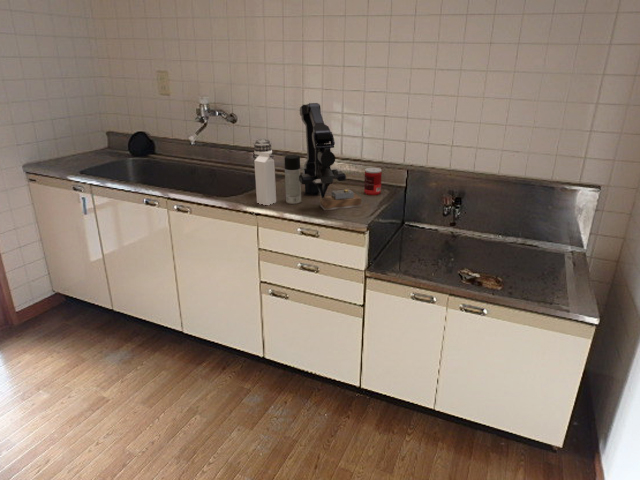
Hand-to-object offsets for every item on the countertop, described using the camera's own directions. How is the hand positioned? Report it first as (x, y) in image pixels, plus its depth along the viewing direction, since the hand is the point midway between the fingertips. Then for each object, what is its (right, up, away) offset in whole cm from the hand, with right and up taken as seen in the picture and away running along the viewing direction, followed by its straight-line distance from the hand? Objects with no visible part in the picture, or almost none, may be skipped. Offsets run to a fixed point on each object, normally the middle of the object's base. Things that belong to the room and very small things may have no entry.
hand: (322, 197), depth 193 cm
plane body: (+8, -3, +4) cm, 9 cm away
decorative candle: (-26, +3, +19) cm, 33 cm away
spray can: (-13, -1, +9) cm, 16 cm away
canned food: (+23, +4, +20) cm, 31 cm away
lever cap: (+8, 0, +3) cm, 9 cm away
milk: (-24, -2, +8) cm, 26 cm away
